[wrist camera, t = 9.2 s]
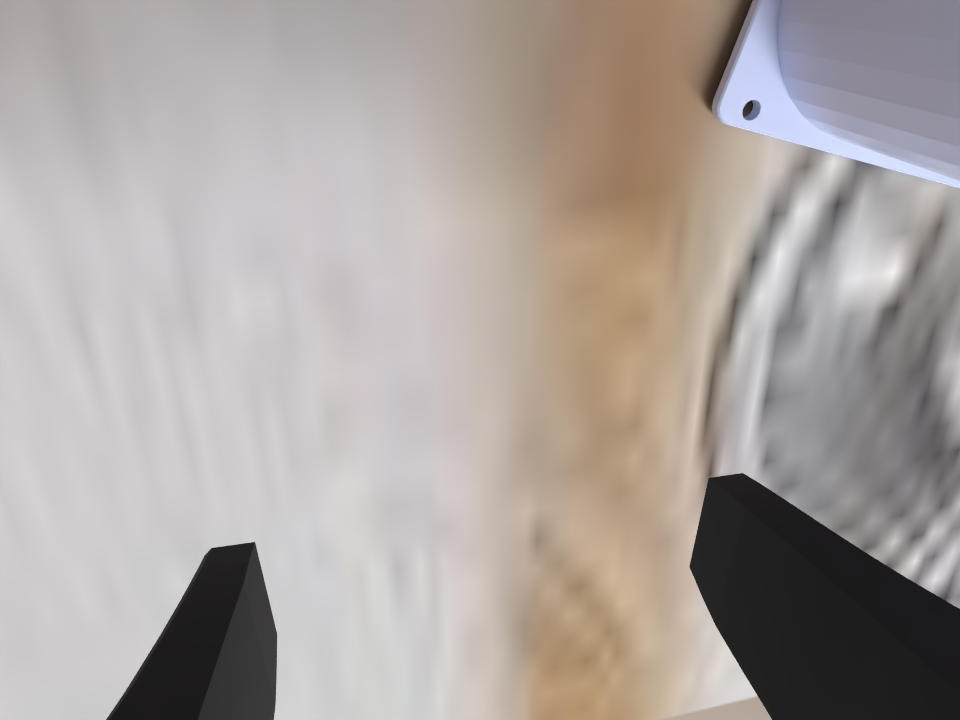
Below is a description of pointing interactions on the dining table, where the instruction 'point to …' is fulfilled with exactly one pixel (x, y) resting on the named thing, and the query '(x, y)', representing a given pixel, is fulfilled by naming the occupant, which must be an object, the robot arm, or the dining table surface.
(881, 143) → the robot arm
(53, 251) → the dining table surface
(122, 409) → the dining table surface
